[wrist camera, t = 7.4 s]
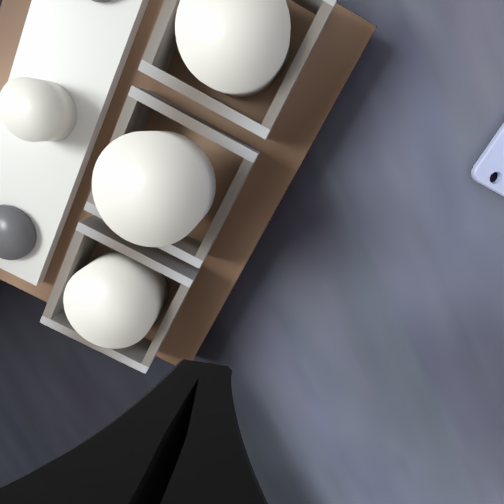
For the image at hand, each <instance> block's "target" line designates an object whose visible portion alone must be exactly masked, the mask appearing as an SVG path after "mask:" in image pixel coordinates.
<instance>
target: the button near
mask: <svg viewBox="0 0 504 504" xmlns="http://www.w3.org/2000/svg"><path fill="white" fill-rule="evenodd" d="M290 30H291V24H290V15H289V9H288V6H287V3H286V0H180V2H179V5H178V8H177V13H176V19H175V35H176V42H177V46H178V50H179V52H180V55H181V57H182V59H183V61H184V63H185V65H186V66H187V68H188V69H189V70H190V72H191V73H192V74H193V75H194V76H195V77H196V78H197V79H198V80H200V81H201V82H202V83H204V84H205V85H207V86H209V87H210V88H212V89H214V90H216V91H218V92H220V93H222V94H225V95H228V96H233V97H245V96H250V95H254V94H257V93H259V92H261V91H263V90H264V89H266V88H267V87H268V86H270V85H271V84H272V83H273V82H274V81H275V80H276V79H277V77H278V76H279V75H280V73H281V71H282V70H283V68H284V65H285V63H286V60H287V57H288V53H289V46H290Z"/></svg>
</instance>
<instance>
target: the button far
mask: <svg viewBox="0 0 504 504" xmlns="http://www.w3.org/2000/svg"><path fill="white" fill-rule="evenodd" d="M167 297H168V287H167V282H166V279H165V277H164V275H163V274H161V273H159V272H157V271H155V270H153V269H151V268H149V267H147V266H145V265H144V264H142V263H140V262H138V261H136V260H134V259H132V258H130V257H128V256H126V255H124V254H122V253H120V252H118V251H116V250H111V251H108V252H106V253H104V254H102V255H101V256H99V257H98V258H96V259H95V260H94V261H92V262H91V263H89V264H88V265H86V266H85V267H83V268H82V269H81V270H79V271H78V272H77V273H75V274H74V275H73V276H72V277H71V279H70V280H69V281H68V283H67V285H66V288H65V291H64V296H63V304H64V310H65V314H66V316H67V319H68V320H69V322H70V324H71V325H72V327H73V328H74V329H75V331H76V332H77V333H78V334H79V335H81V336H82V337H83V338H84V339H86V340H87V341H89V342H91V343H93V344H95V345H97V346H100V347H104V348H111V349H119V348H126V347H129V346H132V345H134V344H136V343H137V342H139V341H140V340H141V339H142V338H144V337H145V335H146V334H147V333H148V331H149V330H150V328H151V327H152V325H153V324H154V322H155V321H156V319H157V318H158V316H159V315H160V313H161V312H162V310H163V309H164V307H165V304H166V302H167Z"/></svg>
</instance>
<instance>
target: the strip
mask: <svg viewBox="0 0 504 504" xmlns="http://www.w3.org/2000/svg"><path fill="white" fill-rule="evenodd" d="M148 2H149V0H32V1H31V4H30V8H29V11H28V15H27V18H26V21H25V25H24V28H23V32H22V35H21V38H20V42H19V45H18V49H17V52H16V56H15V59H14V62H13V66H12V69H11V73H10V76H9V80H8V82H7V83H6V84H5V85H4V87H3V88H2V90H1V92H0V268H1V269H3V270H5V271H7V272H9V273H11V274H13V275H15V276H17V277H19V278H21V279H23V280H25V281H27V282H29V283H31V284H33V285H35V286H37V285H38V284H40V283H42V282H43V281H44V278H45V275H46V273H47V270H48V267H49V265H50V262H51V259H52V257H53V254H54V251H55V249H56V246H57V244H58V241H59V238H60V236H61V233H62V230H63V228H64V225H65V222H66V220H67V217H68V214H69V212H70V209H71V206H72V204H73V201H74V198H75V196H76V193H77V190H78V188H79V185H80V182H81V180H82V177H83V175H84V172H85V169H86V167H87V164H88V161H89V159H90V156H91V153H92V151H93V148H94V145H95V143H96V140H97V137H98V135H99V132H100V129H101V127H102V124H103V121H104V119H105V116H106V113H107V111H108V108H109V106H110V103H111V100H112V98H113V95H114V92H115V90H116V87H117V84H118V82H119V79H120V76H121V74H122V71H123V68H124V66H125V63H126V60H127V58H128V55H129V52H130V50H131V47H132V44H133V42H134V39H135V37H136V34H137V31H138V29H139V26H140V23H141V21H142V18H143V15H144V13H145V10H146V7H147V5H148Z"/></svg>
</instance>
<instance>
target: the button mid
mask: <svg viewBox="0 0 504 504" xmlns="http://www.w3.org/2000/svg"><path fill="white" fill-rule="evenodd" d="M215 191H216V179H215V173H214V170H213V167H212V164H211V162H210V160H209V158H208V156H207V155H206V154H205V152H204V151H203V150H202V149H201V148H200V146H199V145H197V144H196V143H195V142H194V141H193V140H191V139H189V138H188V137H186V136H184V135H181V134H179V133H175V132H170V131H138V132H132V133H128V134H125V135H123V136H120V137H118V138H117V139H115V140H113V141H112V142H111V143H110V144H109V145H107V147H106V148H105V149H104V150H103V151H102V153H101V154H100V156H99V157H98V159H97V161H96V164H95V167H94V170H93V175H92V194H93V198H94V202H95V205H96V208H97V210H98V212H99V214H100V216H101V217H102V219H103V220H104V222H105V223H106V224H107V225H108V227H109V228H110V229H111V230H112V231H114V232H115V233H116V234H117V235H119V236H120V237H121V238H123V239H125V240H127V241H129V242H131V243H133V244H137V245H140V246H145V247H162V246H167V245H170V244H173V243H176V242H177V241H179V240H181V239H183V238H184V237H185V236H187V235H188V234H189V233H190V232H191V231H192V230H193V229H194V228H195V227H196V226H197V224H198V223H199V222H200V221H201V220H202V219H203V218H204V217H205V215H206V214H207V213H208V211H209V209H210V208H211V206H212V203H213V201H214V197H215Z"/></svg>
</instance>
